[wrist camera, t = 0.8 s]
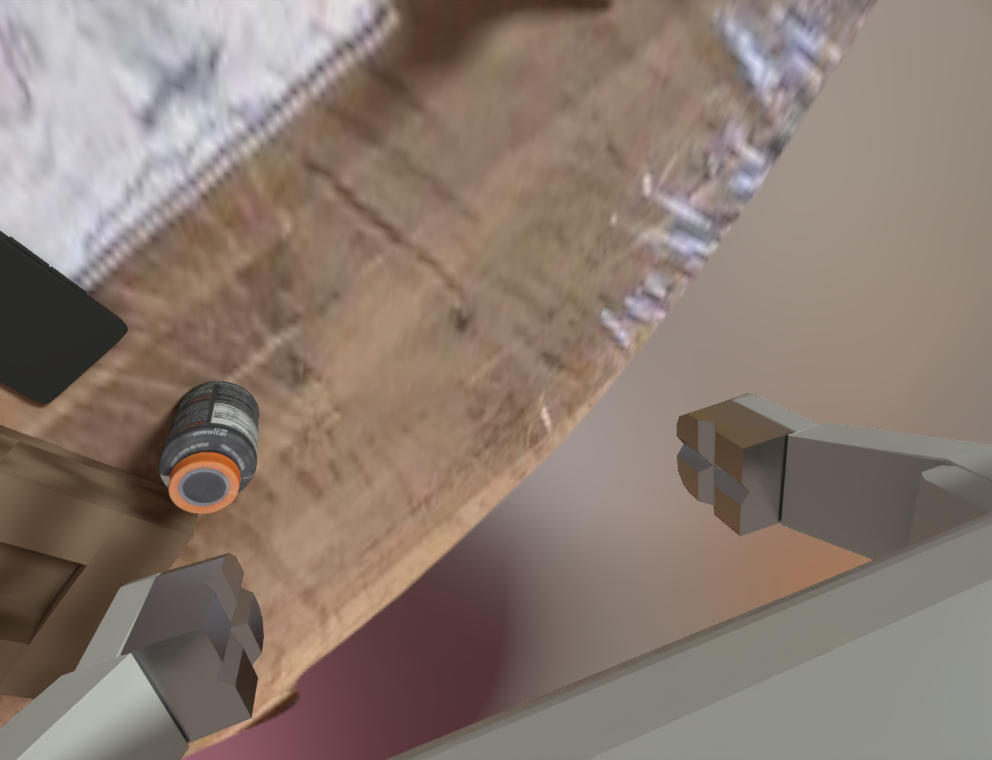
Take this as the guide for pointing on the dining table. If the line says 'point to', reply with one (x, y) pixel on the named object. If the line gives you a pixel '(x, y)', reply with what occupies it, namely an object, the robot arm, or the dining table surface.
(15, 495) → the walnut holder
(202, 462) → the pill bottle
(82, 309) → the smart home device
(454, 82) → the dining table surface
